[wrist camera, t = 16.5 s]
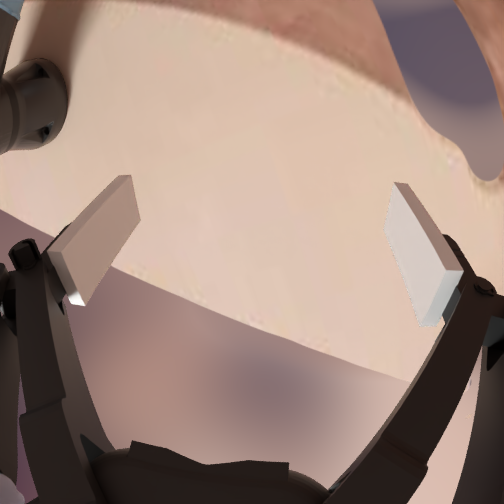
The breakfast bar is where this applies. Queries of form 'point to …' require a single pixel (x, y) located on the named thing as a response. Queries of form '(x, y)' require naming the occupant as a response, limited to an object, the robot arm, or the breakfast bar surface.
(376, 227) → the breakfast bar surface
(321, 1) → the breakfast bar surface
